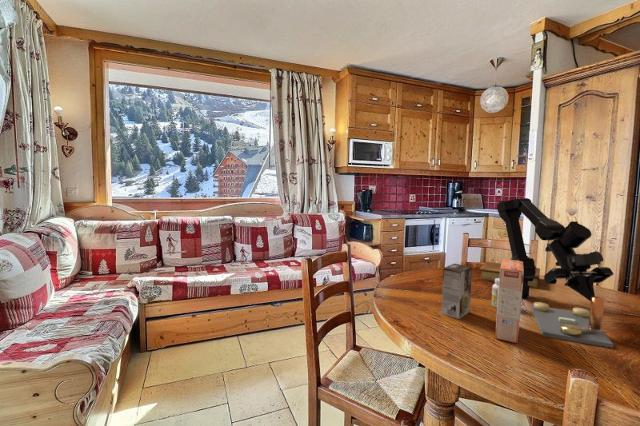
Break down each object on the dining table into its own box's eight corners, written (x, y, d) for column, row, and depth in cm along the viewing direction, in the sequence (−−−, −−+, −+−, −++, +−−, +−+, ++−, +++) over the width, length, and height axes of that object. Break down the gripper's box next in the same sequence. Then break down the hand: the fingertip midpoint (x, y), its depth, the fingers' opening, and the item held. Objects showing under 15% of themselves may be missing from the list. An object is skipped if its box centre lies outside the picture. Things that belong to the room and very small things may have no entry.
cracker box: (519, 344, 91) (524, 270, 89) (494, 339, 94) (498, 267, 92) (519, 326, 102) (524, 260, 101) (498, 322, 106) (501, 258, 104)
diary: (539, 280, 155) (540, 268, 155) (538, 290, 140) (539, 277, 140) (485, 271, 168) (486, 260, 168) (479, 280, 153) (480, 268, 152)
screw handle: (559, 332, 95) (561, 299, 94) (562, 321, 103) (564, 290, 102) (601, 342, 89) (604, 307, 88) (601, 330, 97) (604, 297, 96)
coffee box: (452, 307, 118) (454, 263, 117) (470, 312, 114) (472, 266, 112) (440, 314, 112) (442, 267, 110) (459, 319, 107) (461, 271, 106)
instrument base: (542, 336, 96) (543, 326, 96) (531, 308, 117) (531, 300, 117) (613, 348, 89) (614, 338, 89) (587, 316, 111) (587, 308, 110)
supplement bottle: (509, 305, 120) (511, 279, 119) (505, 309, 116) (507, 282, 115) (493, 301, 124) (495, 276, 123) (489, 305, 120) (490, 279, 119)
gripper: (553, 242, 100) (581, 289, 91) (610, 241, 102) (644, 287, 92) (533, 261, 109) (557, 306, 99) (586, 260, 110) (615, 304, 100)
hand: (593, 301), depth 97 cm, fingers closed, pressing on screw handle
